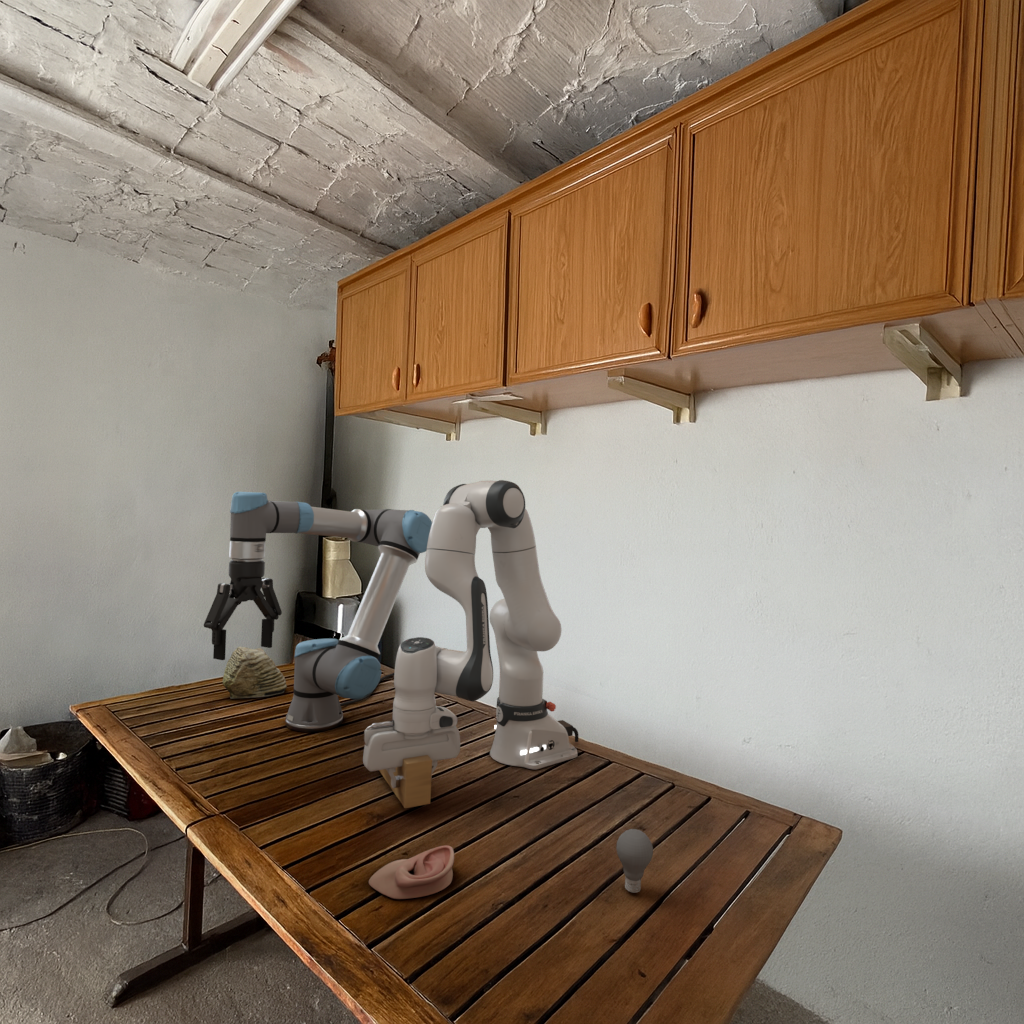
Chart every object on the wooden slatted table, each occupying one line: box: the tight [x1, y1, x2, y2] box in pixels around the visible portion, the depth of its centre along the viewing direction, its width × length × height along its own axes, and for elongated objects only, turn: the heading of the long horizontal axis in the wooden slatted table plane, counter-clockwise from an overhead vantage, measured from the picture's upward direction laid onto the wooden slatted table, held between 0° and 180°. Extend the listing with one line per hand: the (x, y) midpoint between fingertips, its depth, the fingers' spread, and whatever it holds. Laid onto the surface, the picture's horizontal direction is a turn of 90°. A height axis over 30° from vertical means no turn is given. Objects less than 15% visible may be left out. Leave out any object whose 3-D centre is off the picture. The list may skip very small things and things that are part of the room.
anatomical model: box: [368, 844, 455, 900], centre depth 106 cm, size 13×4×12 cm
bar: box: [378, 755, 433, 809], centre depth 138 cm, size 23×5×9 cm, turn 27°
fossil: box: [222, 646, 288, 699], centre depth 198 cm, size 9×18×15 cm, turn 132°
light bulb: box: [615, 828, 654, 894], centre depth 106 cm, size 6×6×10 cm
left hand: (243, 652), depth 144 cm, fingers open, 13 cm apart
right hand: (411, 783), depth 132 cm, fingers closed on bar, 5 cm apart
